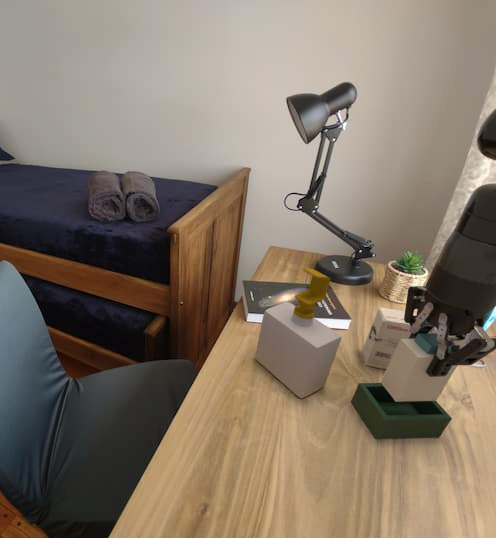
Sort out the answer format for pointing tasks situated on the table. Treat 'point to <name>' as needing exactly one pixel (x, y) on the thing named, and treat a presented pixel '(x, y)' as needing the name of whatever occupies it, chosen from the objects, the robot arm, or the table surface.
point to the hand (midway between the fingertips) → (422, 363)
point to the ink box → (385, 337)
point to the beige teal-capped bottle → (415, 370)
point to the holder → (398, 414)
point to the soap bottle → (298, 340)
